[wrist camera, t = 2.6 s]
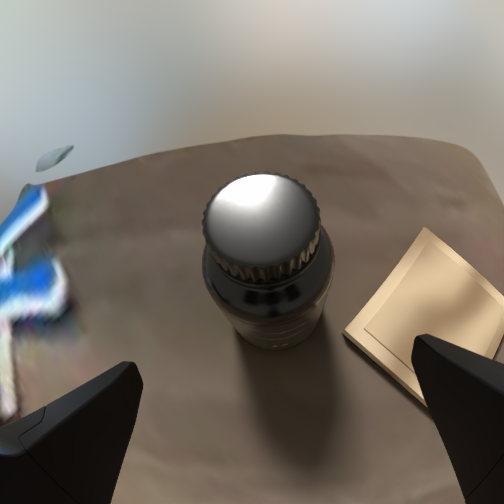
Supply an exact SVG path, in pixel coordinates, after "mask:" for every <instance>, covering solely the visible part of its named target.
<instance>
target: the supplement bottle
mask: <svg viewBox="0 0 504 504" xmlns="http://www.w3.org/2000/svg"><path fill="white" fill-rule="evenodd" d="M203 215H204V218H203V221H202V225H203V235H204V237H205V240H206V245H205V248H204V251H203V256H202V273H203V278H204V282H205V285H206V287H207V289H208V291H209V293H210V295H211V297H212V298H213V300H214V301H215V303H216V304H217V305H218V307H219V308H220V309H221V311H222V312H223V313H224V315H225V316H226V317H227V318H228V320H229V321H230V322H231V324H232V325H233V326H234V328H235V329H236V330H237V331H238V332H239V334H240V335H241V336H242V337H243V338H244V339H246V340H247V341H248V342H250V343H251V344H253V345H255V346H258V347H260V348H264V349H270V350H280V349H286V348H289V347H292V346H294V345H297V344H298V343H300V342H302V341H303V340H304V339H306V338H307V337H308V336H309V335H310V334H311V332H312V331H313V330H314V328H315V327H316V325H317V323H318V321H319V318H320V316H321V313H322V310H323V307H324V304H325V301H326V298H327V295H328V291H329V288H330V285H331V282H332V279H333V274H334V267H335V255H334V249H333V245H332V242H331V239H330V237H329V235H328V233H327V232H326V230H325V229H324V227H323V226H322V225H321V219H320V209H319V208H318V206H317V201H316V199H315V198H314V197H313V196H312V193H311V192H310V191H309V190H307V189H306V187H305V185H303V184H301V183H299V182H298V181H297V180H296V179H293V178H290V177H289V176H287V175H281V174H279V173H270V172H263V173H260V172H255V173H253V174H245V175H244V176H242V177H237V178H235V179H234V180H233V181H230V182H227V183H226V184H225V186H223V187H221V188H219V190H218V191H217V193H216V194H214V195H213V196H212V198H211V200H210V201H209V202H208V203H207V208H206V209H205V211H204V212H203Z"/></svg>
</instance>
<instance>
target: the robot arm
mask: <svg viewBox="0 0 504 504" xmlns="http://www.w3.org/2000/svg"><path fill="white" fill-rule="evenodd" d="M411 363H412V366H413V369H414V371H415V374H416V377H417V380H418V383H419V386H420V389H421V392H422V395H423V397H424V400H425V402H426V405H427V407H428V409H429V411H430V413H431V415H432V418H433V420H434V422H435V424H436V427H437V429H438V431H439V434H440V436H441V438H442V441H443V443H444V446H445V448H446V450H447V453H448V455H449V458H450V460H451V463H452V466H453V468H454V471H455V474H456V476H457V479H458V482H459V485H460V487H461V490H462V493H463V496H464V499H465V503H466V504H504V364H502V363H500V362H497V361H495V360H492V359H490V358H487V357H485V356H482V355H480V354H477V353H475V352H472V351H470V350H467V349H465V348H462V347H460V346H457V345H455V344H452V343H450V342H447V341H445V340H442V339H440V338H437V337H435V336H432V335H430V334H427V333H425V334H421V335H417V336H416V337H415V339H414V343H413V349H412V354H411ZM142 390H143V380H142V378H141V375H140V373H139V370H138V368H137V366H136V364H135V363H134V362H128V361H123V362H121V363H119V364H118V365H116V366H114V367H113V368H111V369H109V370H107V371H106V372H104V373H102V374H101V375H99V376H97V377H95V378H94V379H92V380H90V381H88V382H87V383H85V384H83V385H81V386H80V387H78V388H76V389H74V390H73V391H71V392H69V393H67V394H66V395H64V396H62V397H60V398H58V399H57V400H55V401H53V402H51V403H49V404H48V405H46V406H44V407H42V408H40V409H38V410H37V411H35V412H33V413H31V414H29V415H27V416H25V417H23V418H21V419H18V420H16V421H14V422H12V423H9V424H7V425H5V426H2V427H0V504H111V500H112V496H113V493H114V489H115V486H116V483H117V479H118V476H119V473H120V469H121V466H122V463H123V460H124V457H125V453H126V450H127V447H128V444H129V441H130V438H131V435H132V432H133V429H134V425H135V422H136V418H137V413H138V408H139V404H140V399H141V395H142Z"/></svg>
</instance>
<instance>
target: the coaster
mask: <svg viewBox="0 0 504 504" xmlns="http://www.w3.org/2000/svg"><path fill="white" fill-rule="evenodd" d="M425 333H427V334H430V335H432V336H435V337H437V338H440V339H442V340H445V341H447V342H450V343H452V344H455V345H457V346H460V347H462V348H465V349H467V350H470V351H472V352H475V353H477V354H480V355H482V356H485V357H487V358H490V359H493V357H494V355H495V352H496V350H497V348H498V346H499V344H500V341H501V339H502V337H503V334H504V297H503V296H502V295H501V294H500V293H499V292H498V291H497V290H496V289H495V288H494V287H493V286H492V285H491V284H490V283H489V282H488V281H487V280H486V279H485V278H484V277H483V276H482V275H480V274H479V273H478V272H477V271H476V270H475V269H474V268H473V267H472V266H471V265H469V264H468V263H467V262H466V261H465V260H464V259H463V258H462V257H460V256H459V255H458V254H457V253H456V252H455V251H453V250H452V249H451V248H450V247H449V246H447V245H446V244H445V243H444V242H443V241H441V240H440V239H439V238H438V237H436V236H435V235H434V234H433V233H431V232H430V231H429V230H428V229H426V228H425V227H424V228H423V229H422V231H421V232H420V234H419V235H418V237H417V238H416V240H415V241H414V243H413V244H412V245H411V247H410V248H409V250H408V251H407V252H406V254H405V255H404V257H403V258H402V259H401V261H400V262H399V263H398V265H397V266H396V267H395V269H394V270H393V271H392V273H391V274H390V275H389V277H388V278H387V279H386V280H385V282H384V283H383V284H382V286H381V287H380V288H379V289H378V291H377V292H376V293H375V294H374V296H373V297H372V298H371V299H370V301H369V302H368V303H367V304H366V305H365V307H364V308H363V309H362V310H361V311H360V313H359V314H358V315H357V316H356V317H355V318H354V320H353V321H352V322H351V323H350V324H349V325H348V326H347V328H346V329H345V330H344V331H343V334H344V335H345V336H346V337H347V338H349V339H350V340H351V341H352V342H353V343H354V344H355V345H357V346H358V347H359V348H360V349H361V350H362V351H363V352H364V353H366V354H367V355H368V356H369V357H370V358H371V359H372V360H374V361H375V362H376V363H377V364H378V365H379V366H380V367H382V368H383V369H384V370H385V371H386V372H387V373H388V374H390V375H391V376H392V377H393V378H394V379H395V380H396V381H398V382H399V383H400V384H401V385H402V386H403V387H404V388H405V389H407V390H408V391H409V392H410V393H411V394H412V395H413V396H415V397H416V398H417V399H418V400H419V401H420V402H421V403H423V404H424V405H425V406H426V407H427V405H426V402H425V400H424V397H423V395H422V392H421V389H420V386H419V383H418V380H417V377H416V374H415V371H414V369H413V366H412V363H411V354H412V349H413V343H414V339H415V337H416V336H417V335H421V334H425ZM427 408H428V407H427Z"/></svg>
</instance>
